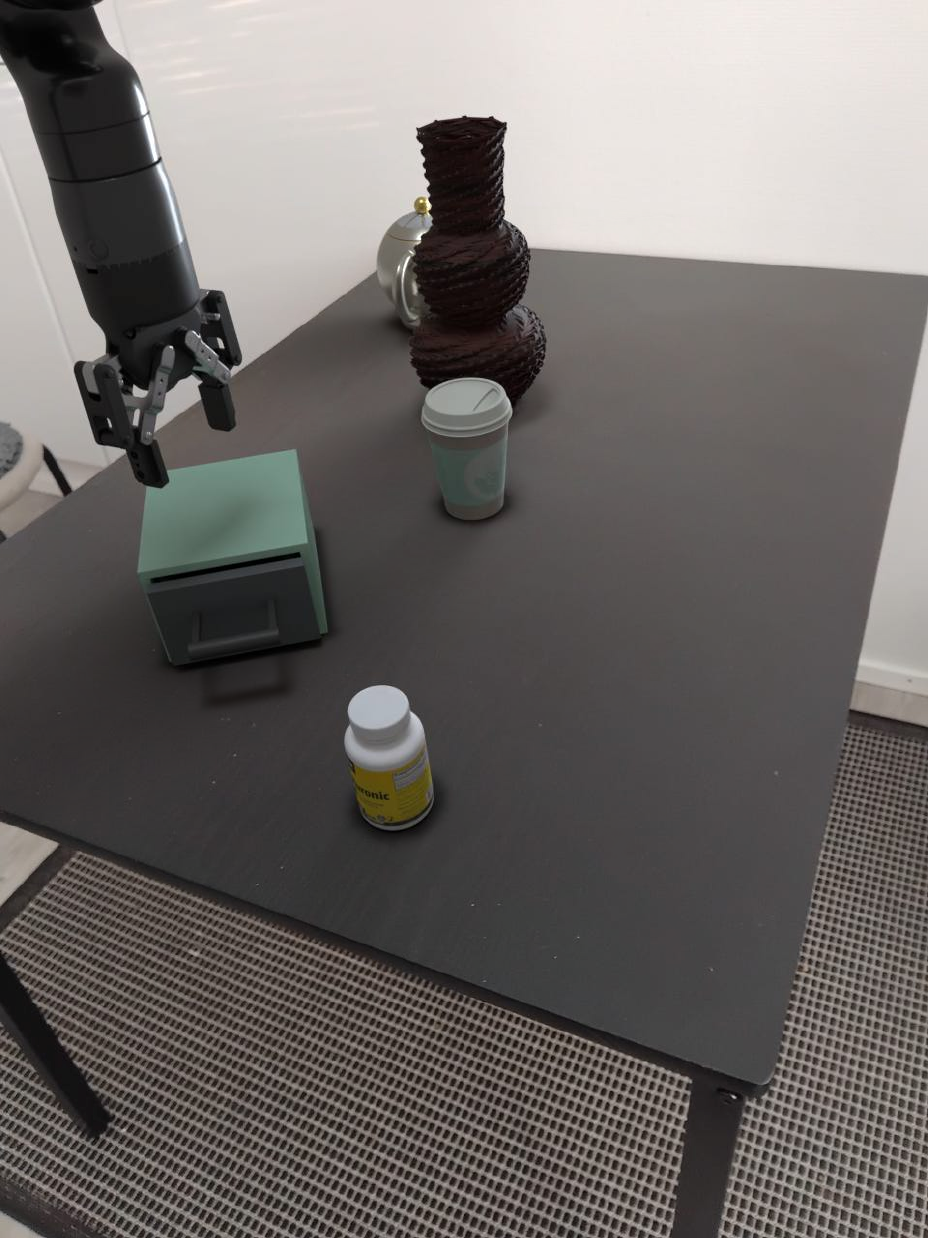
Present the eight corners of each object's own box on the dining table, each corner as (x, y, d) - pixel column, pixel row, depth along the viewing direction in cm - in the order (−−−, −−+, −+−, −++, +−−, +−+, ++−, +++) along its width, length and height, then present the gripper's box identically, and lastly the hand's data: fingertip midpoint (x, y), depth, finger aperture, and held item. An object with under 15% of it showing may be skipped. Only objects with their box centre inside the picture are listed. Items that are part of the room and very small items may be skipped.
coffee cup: (462, 539, 94) (451, 427, 86) (416, 501, 99) (402, 394, 92) (534, 507, 97) (529, 396, 89) (485, 472, 103) (477, 366, 95)
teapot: (409, 296, 141) (395, 177, 131) (498, 302, 137) (491, 179, 127) (356, 350, 129) (336, 223, 118) (452, 358, 124) (440, 227, 114)
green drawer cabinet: (328, 632, 85) (307, 542, 78) (169, 662, 83) (136, 572, 77) (314, 533, 97) (296, 448, 90) (175, 558, 95) (147, 473, 89)
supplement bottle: (344, 802, 70) (320, 704, 64) (404, 762, 72) (386, 664, 66) (389, 847, 67) (368, 749, 60) (450, 803, 69) (436, 705, 63)
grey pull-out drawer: (326, 680, 79) (308, 605, 74) (170, 710, 77) (142, 636, 72) (308, 543, 94) (293, 473, 89) (178, 566, 93) (155, 496, 88)
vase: (416, 445, 108) (379, 156, 89) (416, 382, 120) (384, 115, 101) (554, 433, 108) (547, 139, 89) (541, 371, 120) (532, 100, 101)
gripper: (149, 201, 70) (206, 406, 80) (4, 274, 60) (89, 497, 71) (236, 206, 67) (282, 418, 78) (98, 284, 58) (173, 514, 68)
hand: (190, 455), depth 74 cm, fingers open, 8 cm apart
